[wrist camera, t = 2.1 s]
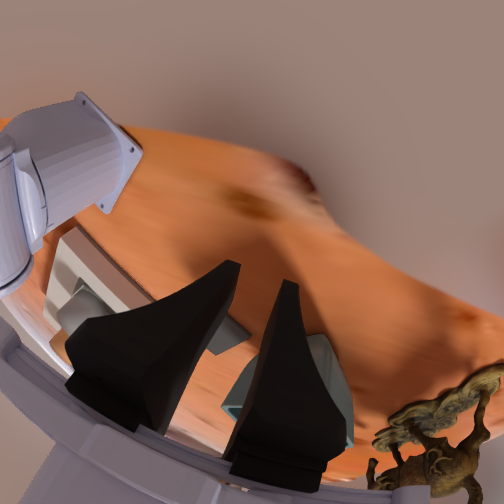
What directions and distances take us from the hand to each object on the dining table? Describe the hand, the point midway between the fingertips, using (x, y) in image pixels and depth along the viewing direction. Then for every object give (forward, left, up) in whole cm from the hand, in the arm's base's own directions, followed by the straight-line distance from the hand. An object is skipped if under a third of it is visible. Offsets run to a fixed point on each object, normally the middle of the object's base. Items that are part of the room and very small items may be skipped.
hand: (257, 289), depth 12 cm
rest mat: (+4, -15, -9) cm, 18 cm away
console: (-7, -29, -9) cm, 31 cm away
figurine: (+34, -4, -10) cm, 35 cm away
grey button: (-7, -24, -6) cm, 25 cm away
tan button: (-7, -35, -6) cm, 36 cm away
